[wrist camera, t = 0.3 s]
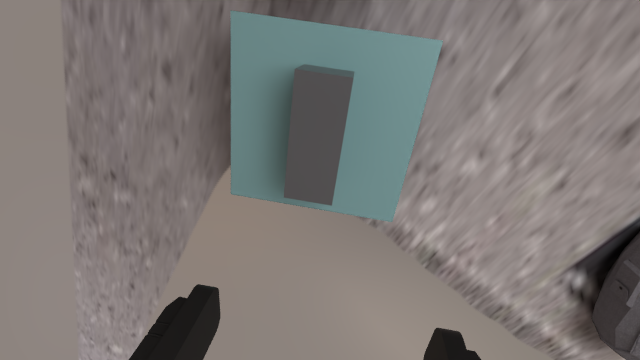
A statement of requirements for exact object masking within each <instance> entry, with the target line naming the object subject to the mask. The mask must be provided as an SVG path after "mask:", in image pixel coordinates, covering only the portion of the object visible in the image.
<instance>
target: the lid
mask: <svg viewBox="0 0 640 360" xmlns="http://www.w3.org/2000/svg"><path fill="white" fill-rule="evenodd" d="M442 43H443V41H442V40H435V39H428V38H421V37H414V36H407V35H400V34H392V33H385V32H378V31H371V30H364V29H357V28H350V27H343V26H336V25H329V24H322V23H315V22H308V21H301V20H294V19H287V18H280V17H273V16H266V15H259V14H252V13H245V12H238V11H231V194H233V195H239V196H245V197H250V198H257V199H262V200H268V201H274V202H279V203H285V204H291V205H297V206H303V207H308V208H314V209H320V210H326V211H332V212H337V213H343V214H349V215H355V216H360V217H366V218H372V219H378V220H384V221H389V222H392V221H393V217H394V214H395V210H396V207H397V203H398V200H399V196H400V193H401V189H402V185H403V182H404V178H405V175H406V171H407V168H408V164H409V160H410V157H411V153H412V150H413V146H414V143H415V139H416V136H417V132H418V128H419V125H420V121H421V118H422V114H423V111H424V107H425V103H426V100H427V96H428V93H429V89H430V86H431V82H432V79H433V75H434V71H435V68H436V64H437V61H438V57H439V54H440V50H441V46H442Z"/></svg>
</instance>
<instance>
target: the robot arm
mask: <svg viewBox="0 0 640 360" xmlns="http://www.w3.org/2000/svg"><path fill="white" fill-rule="evenodd" d="M219 320H220V302H219V290H218V288H216V287H210V286H205V285H199V284H198V285H196V286H195V287H194V289H193V290H192V292H191V293H190V295H189V297H188V298H182V297H178V298H177V299H176V300H175V301H173V302H172V303H171V304H169V305H168V306H167V307H166V308H165V309H164V310H163V312H162V313H161V315H160V316H159V317H158V319H157V320H156V323H155V324H154V325H153V326H152V327H151V329H150V330H149V332H148V335H146V336H145V337H144V339H143V340H142V342H141V343H140V345H139V346H138V347H137V349H136V350H135V352H134V353H133V355H132V356H131V357H130V359H129V360H203V358H204V356H205V354H206V352H207V350H208V348H209V345H210V344H211V341H212V340H213V337H214V335H215V333H216V331H217V328H218V325H219ZM424 360H481V359H480V357H479V356H478V355H477V353H476V352H475V351H470V350H467V349H466V346H465V343H464V340H463V337H462V335H461V333H460V332H458V331H453V330H447V329H442V328H436V329H435V331H434V333H433V335H432V337H431V340H430V342H429V344H428V347H427V349H426V351H425V355H424Z"/></svg>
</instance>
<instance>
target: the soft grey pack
mask: <svg viewBox="0 0 640 360" xmlns="http://www.w3.org/2000/svg"><path fill="white" fill-rule="evenodd" d="M592 320H593V322H594V324H595V327H596V329H597V331H598V334H599V336H600V339H601V340H602V341H604V342H605V343H606V344H607V345H608V346H609V347H610V348H611V349H613V350H614V351H615V352H616V353H618V354H619V355H620V356H622V357H623V358H625V359H626V360H640V232H639V233H638V234H637V235H636V236H635V237H634V238H633V240H632V241H631V242H630V243H629V244H628V245H627V246H626V247H625V248H624V249H623V251H622V252H621V254H620V255H619V257H618V258H617V260H616V261H615V263H614V264H613V266H612V267H611V269H610V270H609V272H608V273H607V275H606V278H605V280H604V283H603V286H602V288H601V291H600V294H599V296H598V299H597V302H596V304H595V308H594V311H593V315H592Z"/></svg>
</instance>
